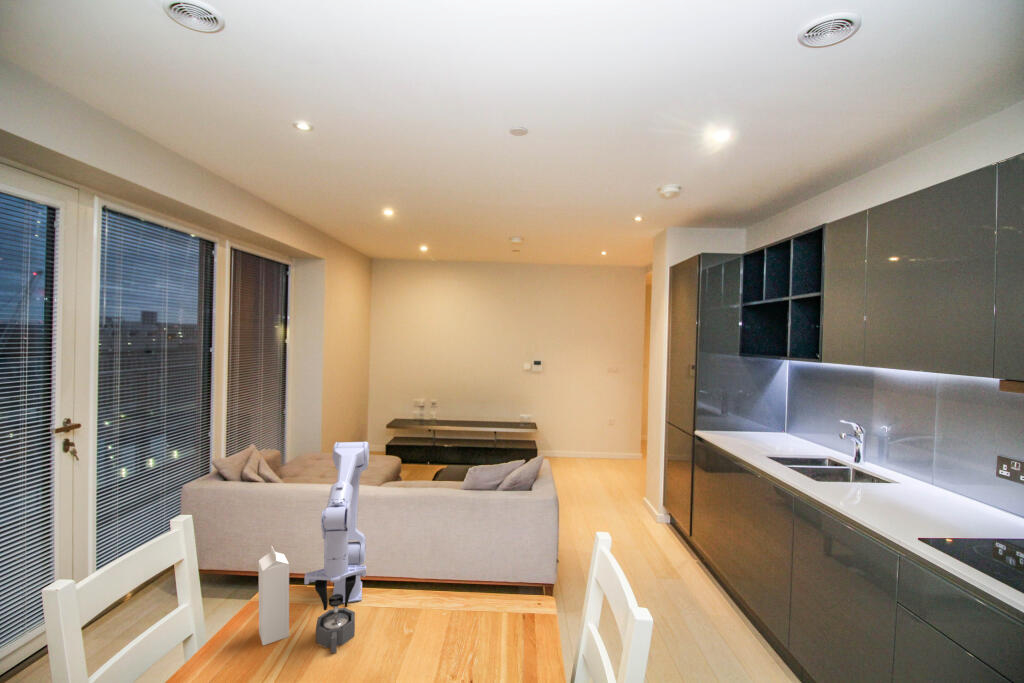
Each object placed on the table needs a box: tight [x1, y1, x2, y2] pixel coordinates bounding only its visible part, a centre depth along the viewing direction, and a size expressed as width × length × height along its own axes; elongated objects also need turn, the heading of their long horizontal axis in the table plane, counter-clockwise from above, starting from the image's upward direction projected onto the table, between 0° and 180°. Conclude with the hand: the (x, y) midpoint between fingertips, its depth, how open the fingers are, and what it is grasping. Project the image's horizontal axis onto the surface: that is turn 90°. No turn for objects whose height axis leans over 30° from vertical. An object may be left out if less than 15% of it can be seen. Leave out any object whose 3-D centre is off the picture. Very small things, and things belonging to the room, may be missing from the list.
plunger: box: [323, 594, 348, 630], centre depth 119 cm, size 6×6×6 cm
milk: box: [258, 545, 290, 647], centre depth 118 cm, size 6×6×22 cm
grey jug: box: [315, 607, 356, 654], centre depth 118 cm, size 12×9×4 cm
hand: (336, 606), depth 119 cm, fingers open, 4 cm apart
